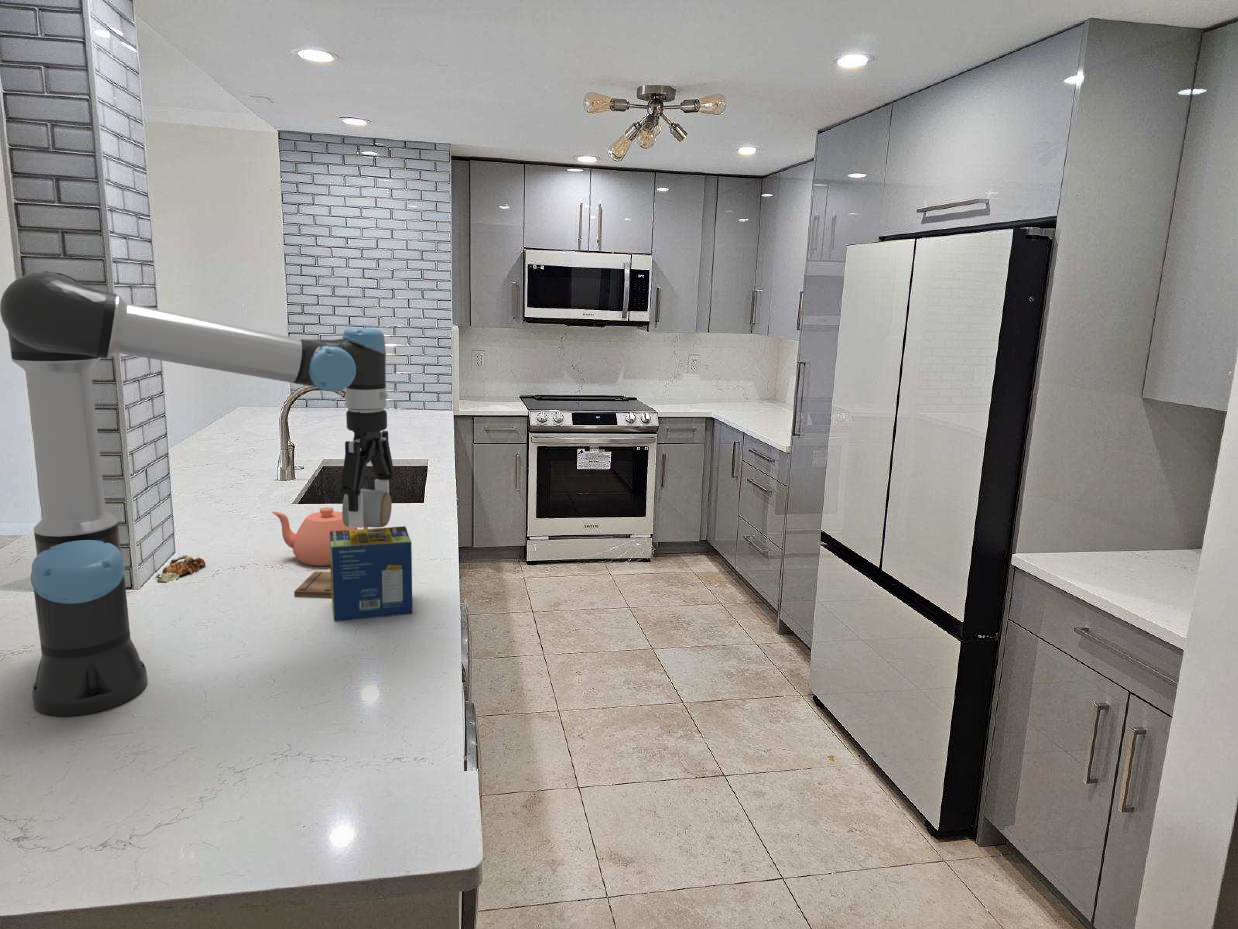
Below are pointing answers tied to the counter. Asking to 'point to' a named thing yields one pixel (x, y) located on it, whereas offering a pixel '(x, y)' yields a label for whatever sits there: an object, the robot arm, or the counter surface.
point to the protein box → (371, 573)
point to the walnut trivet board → (315, 586)
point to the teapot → (313, 535)
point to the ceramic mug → (371, 508)
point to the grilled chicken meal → (180, 568)
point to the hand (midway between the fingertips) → (369, 518)
